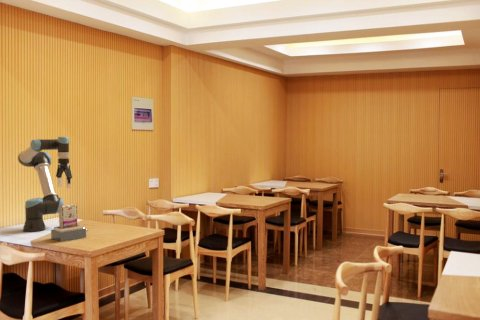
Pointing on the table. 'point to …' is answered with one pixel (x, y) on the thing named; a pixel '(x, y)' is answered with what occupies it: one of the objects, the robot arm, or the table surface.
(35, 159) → the robot arm
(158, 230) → the table surface
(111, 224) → the table surface
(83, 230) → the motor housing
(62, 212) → the candy bar box
